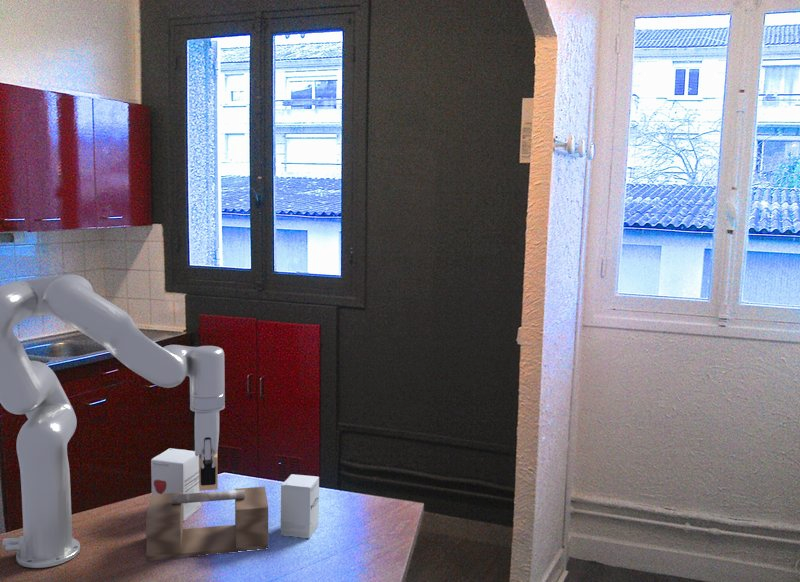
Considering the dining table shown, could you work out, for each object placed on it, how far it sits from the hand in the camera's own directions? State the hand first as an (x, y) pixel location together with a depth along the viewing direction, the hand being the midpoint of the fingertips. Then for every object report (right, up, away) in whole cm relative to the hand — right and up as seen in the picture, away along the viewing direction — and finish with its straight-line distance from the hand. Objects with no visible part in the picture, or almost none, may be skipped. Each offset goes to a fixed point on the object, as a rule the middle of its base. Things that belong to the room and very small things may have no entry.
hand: (208, 478), depth 166 cm
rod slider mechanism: (0, -15, +2) cm, 15 cm away
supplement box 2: (+19, -15, +9) cm, 26 cm away
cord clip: (0, -2, 0) cm, 2 cm away
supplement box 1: (-12, -13, +17) cm, 25 cm away
